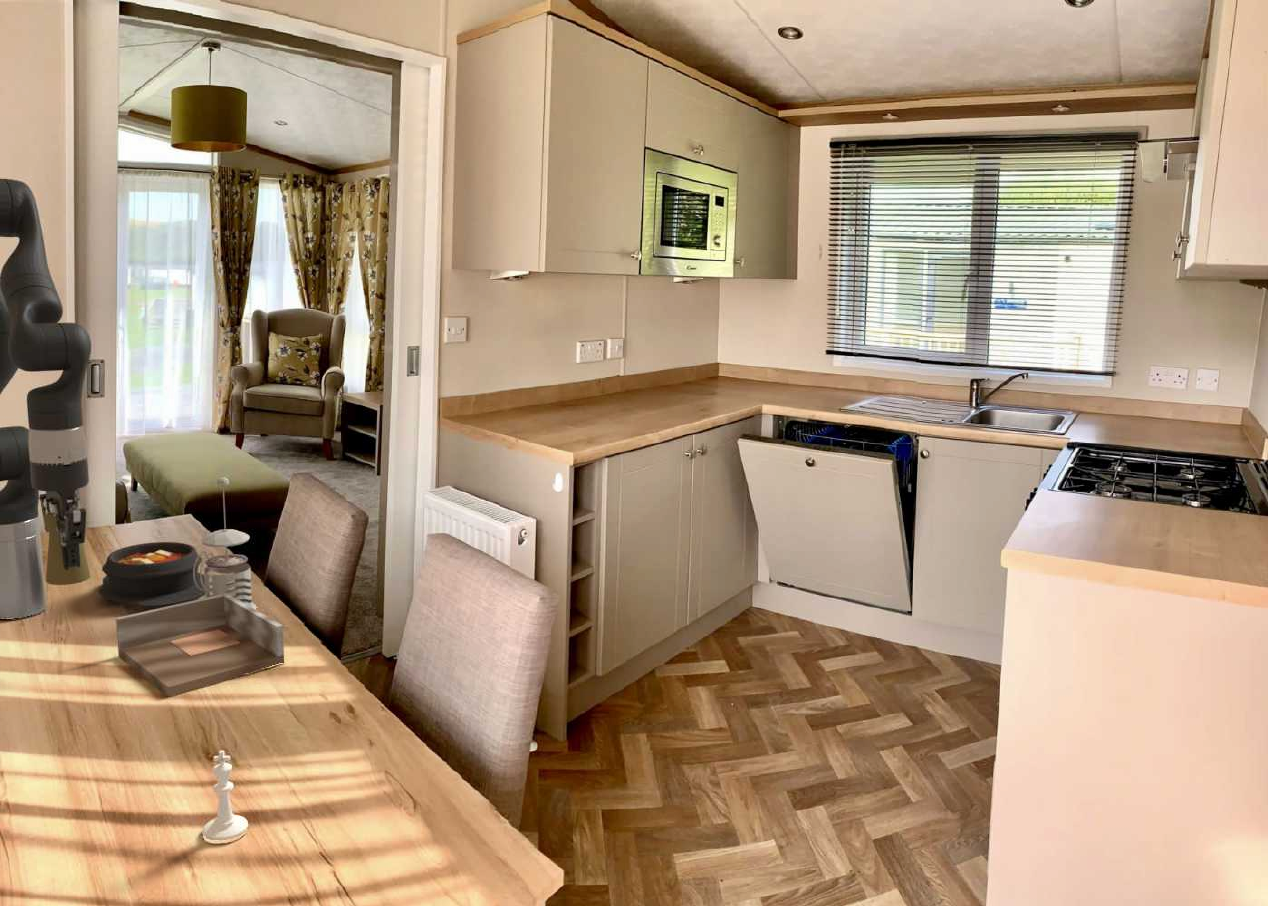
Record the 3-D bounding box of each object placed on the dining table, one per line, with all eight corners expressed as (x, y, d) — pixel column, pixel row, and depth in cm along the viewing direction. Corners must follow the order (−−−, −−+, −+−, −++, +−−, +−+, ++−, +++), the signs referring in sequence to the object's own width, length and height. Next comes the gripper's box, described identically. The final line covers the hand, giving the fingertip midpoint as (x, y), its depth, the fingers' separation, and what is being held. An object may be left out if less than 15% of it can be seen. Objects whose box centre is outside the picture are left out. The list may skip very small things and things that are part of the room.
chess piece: (210, 820, 114) (206, 741, 112) (254, 819, 115) (250, 740, 113) (195, 845, 109) (190, 762, 108) (241, 844, 110) (237, 762, 108)
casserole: (232, 601, 184) (230, 558, 183) (127, 625, 171) (124, 579, 170) (178, 569, 201) (176, 529, 200) (79, 588, 188) (75, 546, 187)
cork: (70, 586, 148) (65, 516, 146) (36, 582, 150) (30, 512, 147) (99, 574, 154) (94, 506, 152) (66, 570, 155) (61, 503, 153)
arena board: (118, 656, 158) (115, 618, 157) (228, 628, 171) (227, 593, 170) (168, 696, 145) (166, 655, 143) (284, 663, 158) (282, 625, 156)
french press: (269, 607, 182) (264, 475, 177) (219, 627, 171) (212, 488, 167) (230, 598, 186) (224, 469, 181) (179, 617, 175) (171, 481, 171)
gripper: (16, 451, 150) (25, 558, 154) (45, 467, 141) (54, 582, 144) (70, 445, 155) (77, 549, 159) (102, 461, 146) (109, 571, 149)
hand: (66, 564), depth 151 cm, fingers closed on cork, 4 cm apart
